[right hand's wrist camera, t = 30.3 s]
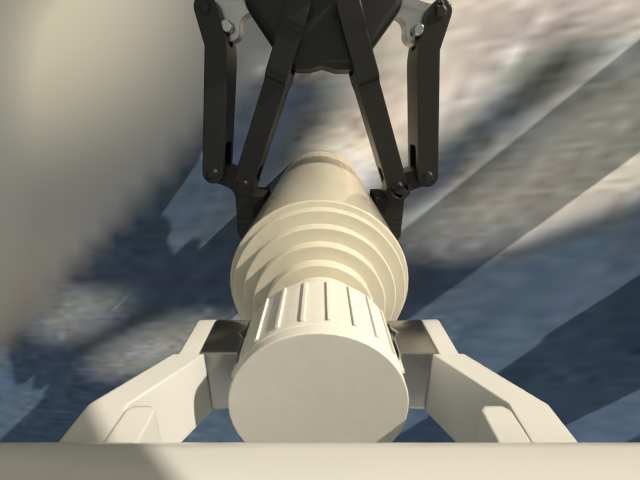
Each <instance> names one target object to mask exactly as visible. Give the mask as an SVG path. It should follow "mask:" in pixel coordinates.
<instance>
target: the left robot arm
mask: <svg viewBox="0 0 640 480" xmlns="http://www.w3.org/2000/svg"><path fill="white" fill-rule="evenodd" d="M194 11H195V14H196V17H197V21H198V24H199V28H200V31H201V35H202V38H203V41H204V45H205V62H204V119H203V177H204V178H205V180H206V181H208V182H209V183H218V184H221V185H224V186H226V187H228V188H230V189H231V190H232V191H233V192H234V194H235V197H236V208H237V222H238V233H239V235H240V237H241V239H243V237H244V236H245V234H246V232H247V231H248V229H249V228H250V226H251V224H252V223H253V221H254V219H255V218H256V216H257V215H258V213H259V211H260V210H261V208H262V207H263V205H264V203H265V202H266V200H267V199H268V197H269V195H270V188H267V187H259V188H258V182H259V181H260V179H259V178H260V175H261V172H262V169H263V166H264V163H265V160H266V157H267V154H268V151H269V148H270V145H271V142H272V139H273V136H274V133H275V130H276V127H277V124H278V121H279V118H280V115H281V112H282V109H283V106H284V103H285V100H286V97H287V94H288V91H289V89H290V87H291V84H292V82H293V79H294V76H295V73H312V72H316V71H319V70H325V71H328V72H331V73H334V74H349V77H350V80H351V84H352V87H353V89H354V91H355V94H356V98H357V101H358V104H359V108H360V111H361V114H362V118H363V121H364V125H365V128H366V131H367V135H368V138H369V141H370V145H371V148H372V152H373V155H374V158H375V162H376V165H377V168H378V172H379V175H380V179H381V182H382V184H383V185H382V190H381V189H370V197H371V198H372V200H373V202H374V203H375V205H376V207H377V208H378V210H379V212H380V213H381V215H382V217H383V218H384V220H385V221H386V223H387V225H388V226H389V228H390V230H391V231H392V233H393V235H394V236H395V238H396V240H398V238H399V236H400V234H401V224H402V214H403V205H404V198H406V197H407V196H408V195H409V193H410V191H411V190H413V189H416V188H419V187H422V186H424V187H429V186H432V185H433V184H435V182H436V181H437V177H438V130H439V68H440V48H441V45H442V42H443V39H444V36H445V33H446V30H447V27H448V24H449V21H450V18H451V14H452V7H451V4H450V3H449V1H447V0H436V1H435V2H434V3H433V4H429V3H426V2H422V1H419V0H195V1H194ZM250 18H253V19H254V21H255V22H256V24H257V25H258V27H259V28H260V30H261V31H262V33H263V34H264V36H265V37H266V39H267V40H268V42H269V43H270V45H271V46H272V51H271V55H270V58H269V61H268V64H267V68H266V72H265V79H264V83H263V86H262V89H261V93H260V96H259V99H258V103H257V106H256V109H255V112H254V116H253V119H252V122H251V125H250V129H249V132H248V135H247V138H246V142H245V145H244V148H243V151H242V155H241V158H240V161H239V164H238V166H237V165H234V164H232V157H233V136H234V114H235V93H236V71H237V54H236V47H235V44H237V43H239V42H240V41H241V40H242V39H243V35H244V24H245V22H246V21H247V20H248V19H250ZM393 20H394V21H396V22H398V23H399V25H400V26H401V30H402V35H401V38H402V42H403V44H404V45H405V46H407V47H409V52H408V59H407V98H408V167H406V168H403V167H402V163H401V159H400V156H399V152H398V148H397V145H396V141H395V137H394V133H393V130H392V126H391V122H390V119H389V115H388V111H387V108H386V104H385V100H384V96H383V93H382V89H381V85H380V81H379V72H378V68H377V64H376V60H375V57H374V53H373V48H374V47H375V45H376V44H377V43H378V41H379V40H380V38H381V37H382V36H383V34H384V33H385V31H386V30H387V28H388V27H389V26H390V24H391V23H392V21H393Z"/></svg>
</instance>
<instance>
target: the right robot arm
mask: <svg viewBox="0 0 640 480" xmlns="http://www.w3.org/2000/svg"><path fill="white" fill-rule="evenodd" d="M250 322H251V321H250V320H200V321H198V322H197V324H196V325H195V327H194V329H193V330H192V332H191V334H190V336H189V337H188V339H187V341H186V342H185V344H184V346H183V347H182V349H181V351H180V352H179V354H173V355H171V356H169V357H168V358H166V359H164V360H163V361H161V362H159V363H158V364H156V365H154V366H152V367H151V368H149V369H147V370H146V371H144V372H142V373H141V374H139V375H137V376H136V377H134V378H132V379H131V380H129V381H127V382H126V383H124V384H122V385H121V386H119V387H117V388H115V389H114V390H112V391H110V392H109V393H107V394H105V395H104V396H102V397H100V398H99V399H97V400H95V401H94V402H92V403H90V404H89V405H88V406H87V407H86V408H85V410H84V411H83V412H82V413H81V415H80V416H79V417H78V418H77V420H76V421H75V422H74V423H73V425H72V426H71V427H70V428H69V430H68V431H67V432H66V433H65V435H64V436H63V437H62V438H61V440H60V441H59V442H0V480H640V442H577V441H576V440H575V439H574V437H573V436H572V435H571V434H570V432H569V431H568V430H567V428H566V427H565V426H564V425H563V423H562V422H561V421H560V420H559V418H558V417H557V416H556V414H555V413H554V412H553V411H552V409H551V408H550V407H549V405H547V404H546V403H544V402H542V401H541V400H539V399H537V398H536V397H534V396H532V395H531V394H529V393H527V392H526V391H524V390H522V389H521V388H519V387H517V386H516V385H514V384H512V383H511V382H509V381H507V380H506V379H504V378H502V377H501V376H499V375H497V374H496V373H494V372H492V371H491V370H489V369H488V368H486V367H484V366H483V365H481V364H479V363H478V362H476V361H474V360H473V359H471V358H469V357H468V356H466V355H464V354H458V352H457V351H456V349H455V347H454V346H453V344H452V342H451V341H450V339H449V337H448V335H447V334H446V332H445V330H444V329H443V327H442V325H441V324H440V322H439V321H438V320H437V319H433V320H405V321H386V323H387V326H388V328H389V331H390V333H391V334H393V337H394V342H393V344H394V347H395V350H396V353H397V356H398V359H399V360H401V362H402V365H403V368H404V371H405V373H403V377H404V380H405V383H406V386H407V390H408V397H409V406H408V409H425V411H426V412H427V413H428V414H429V415H430V416H431V417H432V418H433V419H434V420H435V421H436V422H437V423H438V424H439V425H440V426H441V427H442V429H443V430H444V431H445V432H446V433H447V434H448V435H449V436H450V437H451V438H452V439H453V440H454V441H455V442H456V443H304V442H191V443H181V442H182V441H183V440H184V439H185V438H186V437H187V436H188V435H189V434H190V433H191V432H192V431H193V430H194V429H195V428H196V427H197V426H198V425H199V424H200V423H201V422H202V421H203V419H204V418H205V417H206V416H207V415H208V414H209V413H210V412H211V411H212V409H229V408H228V395H229V389H230V385H231V382H232V379H233V377H231V374H232V371H233V368H234V366H235V363H237V364H238V361H239V355H240V352H241V349H242V346H243V343H244V340H243V339H244V338H245V337H246V334H247V331H248V328H249V325H250Z"/></svg>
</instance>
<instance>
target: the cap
mask: <svg viewBox="0 0 640 480" xmlns="http://www.w3.org/2000/svg"><path fill="white" fill-rule="evenodd" d="M243 340H244V343H243V346H242V349H241V352H240V355H239V361H238V364H237V363H235V366H234V368H233V371H232V374H231V377H233V379H232V382H231V385H230V389H229V395H228V408H229V413H230V417H231V420H232V423H233V425H234V427H235V429H236V431H237V433H238V434H239V435H240V437H241V438H242V439H243V441H244V442H304V443H392V442H393V441H394V439H395V438H396V437H397V436H398V434H399V432H400V431H401V429H402V427H403V425H404V423H405V420H406V417H407V413H408V406H409V397H408V390H407V386H406V383H405V380H404V377H403V373H405V371H404V368H403V365H402V362H401V360H399V359H398V356H397V353H396V350H395V347H394V344H393V342H394V337H393V334H391V333H390V331H389V328H388V326H387V323H386V320H385V318H384V314H383V311H382V310H379V308H378V307H377V306H376V305H375V304H374V303H373V301H371V300H370V299H369V297H368V296H365V295H364V294H362V293H361V292H359V291H358V290H356V289H353V288H351V287H350V286H346V285H343V284H340V283H336V282H331V281H308V282H307V281H306V282H301V283H298V284H294V285H291V286H289V287H285V288H283V289H282V290H280V291H278V292H277V293H275V294H273V295H272V296H271V297H270V298H267V299H265V302H264V303H263V304H262V305H261V306H260V308H259V309H258V310H257V312H256V313H255V312H254V314H253V316H252V319H251V322H250V325H249V328H248V331H247V334H246V337H245V338H244V339H243Z"/></svg>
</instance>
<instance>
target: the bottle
mask: <svg viewBox="0 0 640 480" xmlns="http://www.w3.org/2000/svg"><path fill="white" fill-rule="evenodd" d="M306 281H307V282H308V281H331V282H336V283H340V284H343V285H346V286H350V287H351V288H353V289H356V290H358V291H359V292H361V293H362V294H364V295H365V296H368V297H369V299H370V300H371V301H373V303H374V304H375V305H376V306H377V307H378V308H379V310H382V311H383V314H384V318H385V320H386V321H396V320H397V318H398V317H399V315H400V312H401V310H402V308H403V305H404V302H405V300H406V295H407V290H408V268H407V264H406V260H405V256H404V254H403V251H402V249H401V247H400V245H399V243H398V242H397V240H396V238H395V236H394V235H393V233H392V231H391V230H390V228H389V226H388V225H387V223H386V221H385V220H384V218H383V217H382V215H381V213H380V212H379V210H378V208H377V207H376V205H375V203H374V202H373V200H372V198H371V197H370V195H369V193H368V192H367V190H366V188H365V187H364V185H363V183H362V182H361V180H360V178H359V177H358V175H357V173H356V172H355V170H354V168H353V167H352V166H351V165H350V164H349V163H348V162H347V161H346V160H345V159H344V158H342V157H340V156H339V155H337V154H334V153H331V152H326V151H314V152H309V153H306V154H303V155H301V156H299V157H298V158H296V159H295V160H294V161H293V162H291V163H290V165H289V166H288V167H287V168H286V170H285V171H284V173H283V174H282V176H281V178H280V179H279V181H278V183H277V184H276V186H275V187H274V189H273V191H272V192H271V194H270V195H269V197H268V199H267V200H266V202H265V203H264V205H263V207H262V208H261V210H260V211H259V213H258V215H257V216H256V218H255V219H254V221H253V223H252V224H251V226H250V228H249V229H248V231H247V232H246V234H245V236H244V237H243V239H242V240H241V242H240V244H239V246H238V248H237V250H236V252H235V255H234V258H233V261H232V266H231V273H230V285H231V293H232V297H233V300H234V304H235V306H236V308H237V311H238V313H239V315H240V317H241V320H250V321H251V319H252V316H253V314H254V312H255V313H256V312H257V310H258V309H259V308H260V306H261V305H262V304H263V303H264V302H265V299H267V298H270V297H271V296H272V295H273V294H275V293H277V292H278V291H280V290H282V289H283V288H285V287H289V286H291V285H294V284H298V283H301V282H306Z"/></svg>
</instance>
